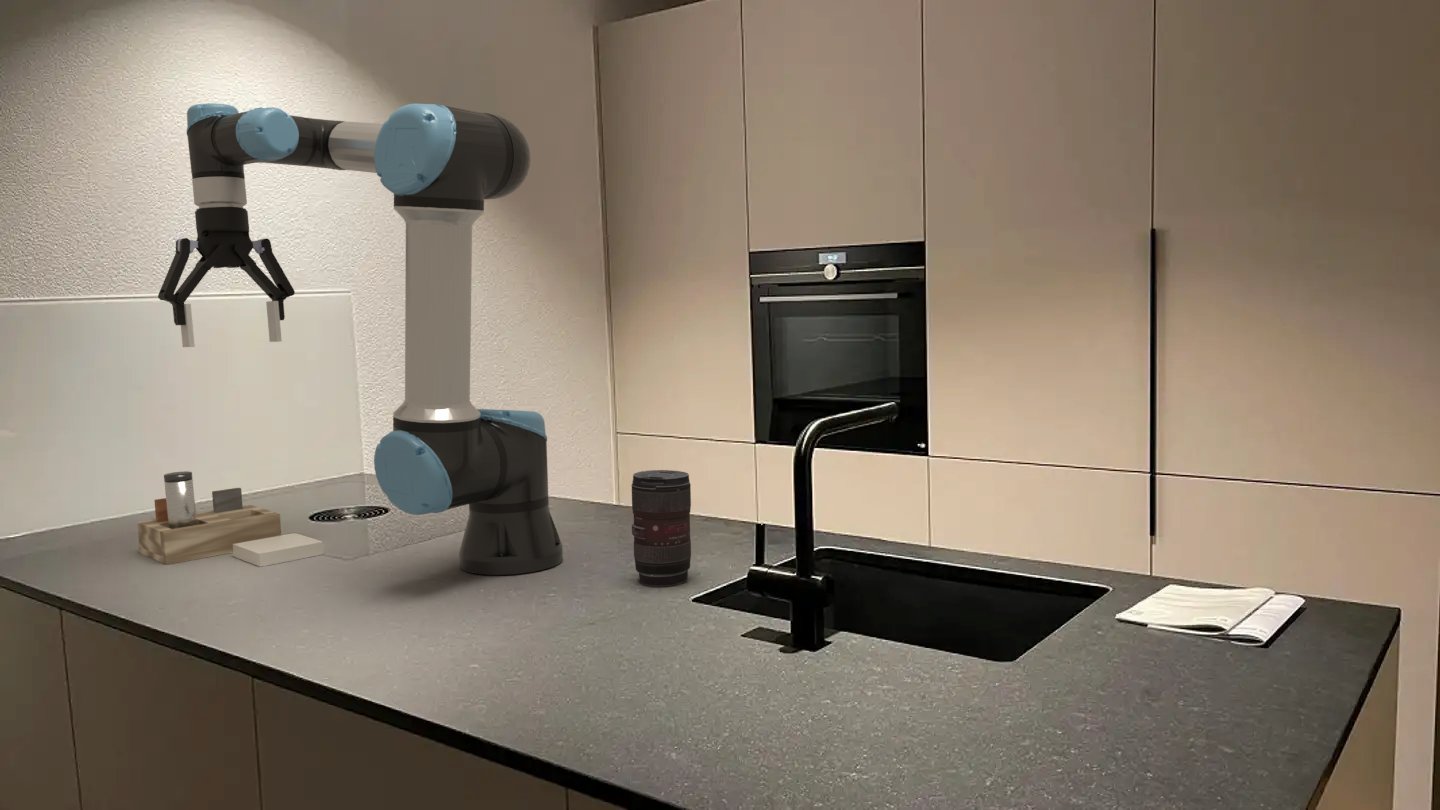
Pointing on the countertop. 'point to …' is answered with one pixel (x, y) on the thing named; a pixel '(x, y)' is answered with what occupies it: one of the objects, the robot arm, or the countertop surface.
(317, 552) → the plate
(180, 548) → the socket block
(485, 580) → the countertop surface
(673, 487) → the camera lens
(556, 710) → the countertop surface
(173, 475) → the shaker with dark cap
